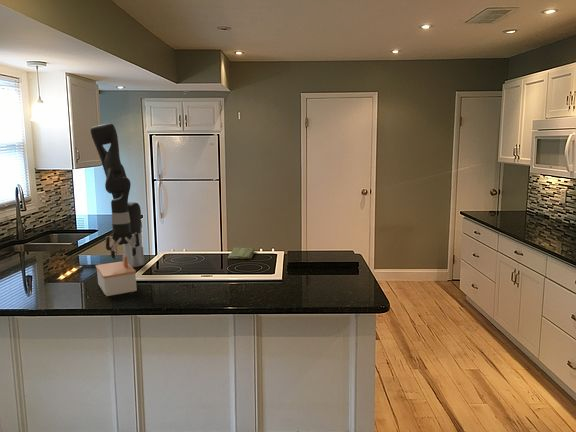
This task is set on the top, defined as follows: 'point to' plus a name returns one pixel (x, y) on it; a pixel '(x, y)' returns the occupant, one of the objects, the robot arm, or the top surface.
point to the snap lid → (115, 269)
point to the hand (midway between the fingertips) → (123, 257)
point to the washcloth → (241, 253)
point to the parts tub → (117, 284)
